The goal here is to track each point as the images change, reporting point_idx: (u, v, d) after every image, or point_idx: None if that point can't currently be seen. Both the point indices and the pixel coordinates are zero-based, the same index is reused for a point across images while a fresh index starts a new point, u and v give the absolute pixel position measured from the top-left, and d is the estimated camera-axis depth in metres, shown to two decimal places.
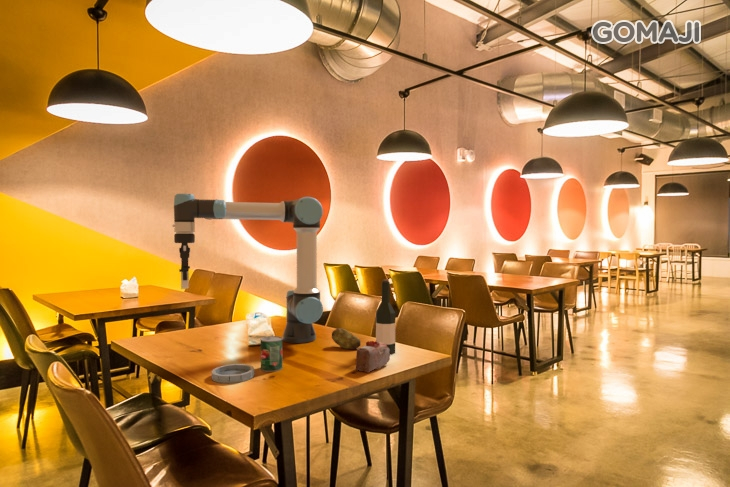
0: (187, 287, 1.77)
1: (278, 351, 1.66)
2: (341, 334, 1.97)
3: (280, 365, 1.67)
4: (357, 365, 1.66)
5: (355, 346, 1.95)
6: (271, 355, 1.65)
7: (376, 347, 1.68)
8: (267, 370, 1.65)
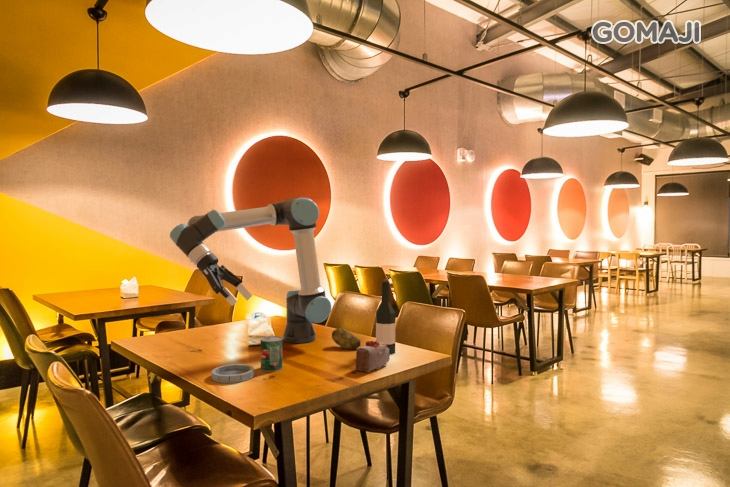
0: (235, 300, 1.62)
1: (278, 351, 1.66)
2: (341, 334, 1.97)
3: (280, 365, 1.67)
4: (357, 365, 1.66)
5: (355, 346, 1.95)
6: (271, 355, 1.65)
7: (376, 347, 1.68)
8: (267, 370, 1.65)
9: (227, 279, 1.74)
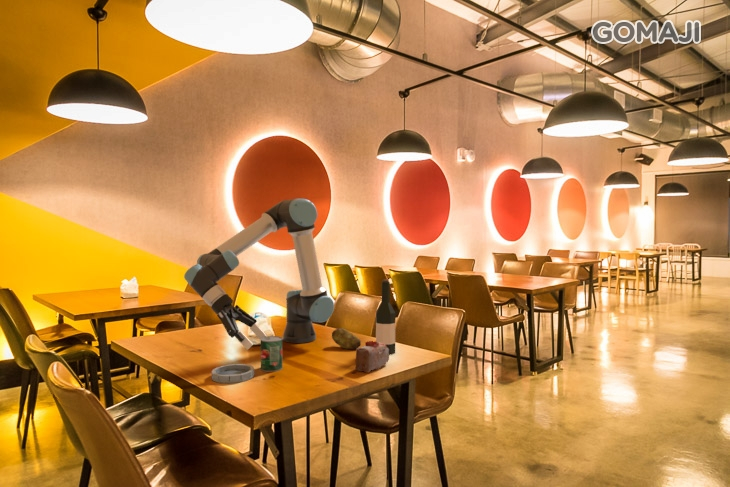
0: (250, 344, 1.61)
1: (278, 351, 1.66)
2: (341, 334, 1.97)
3: (280, 365, 1.67)
4: (357, 365, 1.66)
5: (355, 346, 1.95)
6: (271, 355, 1.65)
7: (376, 347, 1.68)
8: (267, 370, 1.65)
9: (241, 320, 1.73)
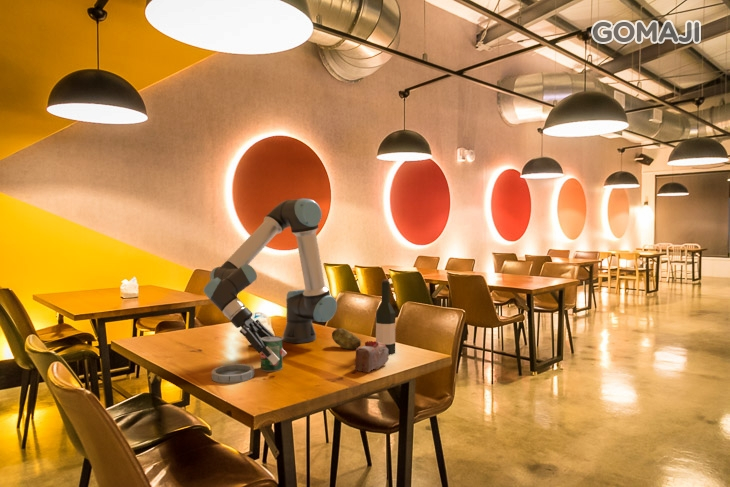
0: (277, 359, 1.63)
1: (278, 351, 1.66)
2: (341, 334, 1.97)
3: (280, 365, 1.67)
4: (356, 365, 1.66)
5: (355, 346, 1.95)
6: None
7: (375, 347, 1.68)
8: (267, 370, 1.65)
9: (261, 335, 1.72)
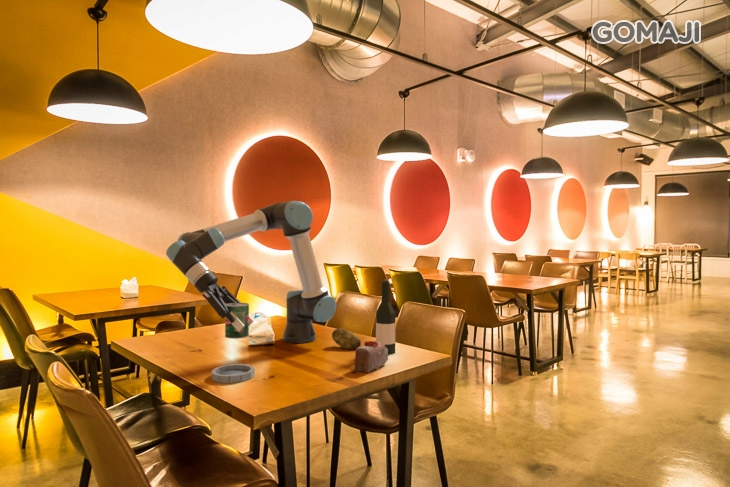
0: (242, 325, 1.54)
1: (243, 317, 1.57)
2: (341, 334, 1.97)
3: (246, 332, 1.58)
4: (356, 365, 1.66)
5: (355, 346, 1.95)
6: None
7: (375, 347, 1.68)
8: (231, 337, 1.56)
9: (226, 301, 1.63)
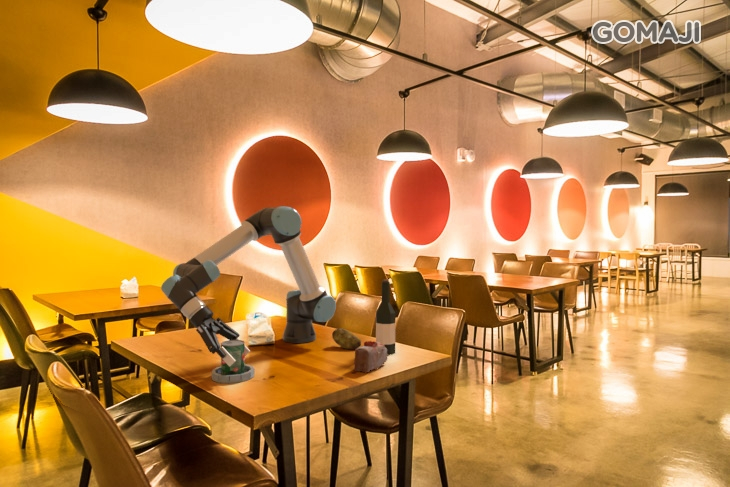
0: (233, 361, 1.52)
1: (239, 356, 1.56)
2: (342, 334, 1.97)
3: (242, 371, 1.57)
4: (356, 365, 1.66)
5: (355, 346, 1.95)
6: None
7: (374, 347, 1.68)
8: None
9: (223, 334, 1.63)
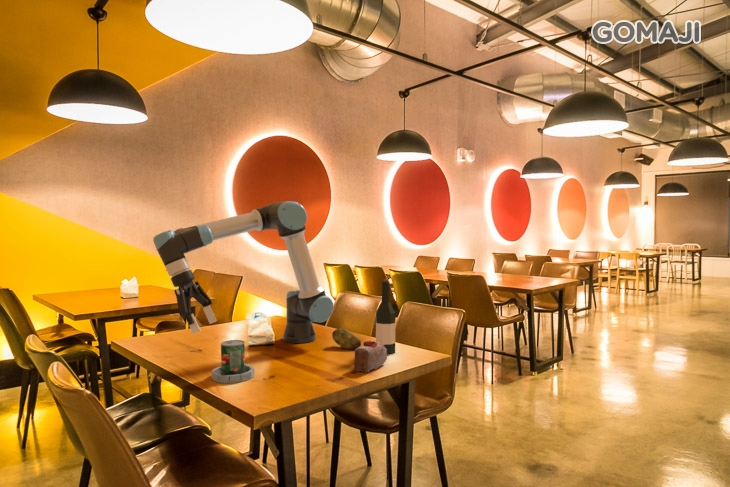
0: (198, 330, 1.58)
1: (239, 356, 1.56)
2: (342, 334, 1.97)
3: (242, 371, 1.57)
4: (355, 365, 1.66)
5: (355, 346, 1.95)
6: (232, 361, 1.55)
7: (374, 347, 1.68)
8: None
9: (197, 298, 1.69)
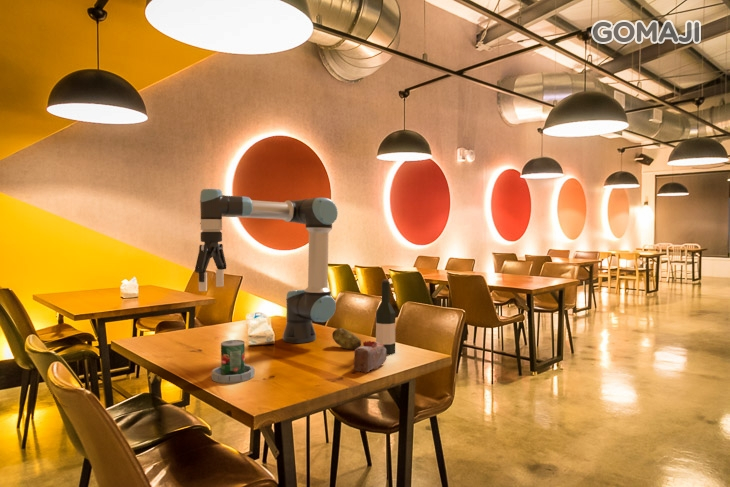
0: (204, 289, 1.64)
1: (239, 356, 1.56)
2: (342, 334, 1.97)
3: (242, 371, 1.57)
4: (355, 365, 1.66)
5: (355, 346, 1.95)
6: (232, 361, 1.55)
7: (374, 347, 1.68)
8: None
9: (215, 259, 1.75)
